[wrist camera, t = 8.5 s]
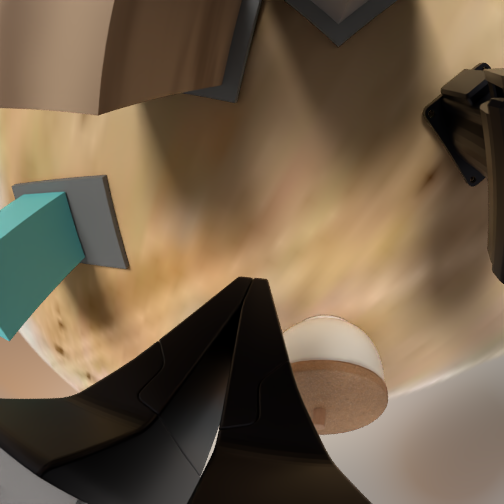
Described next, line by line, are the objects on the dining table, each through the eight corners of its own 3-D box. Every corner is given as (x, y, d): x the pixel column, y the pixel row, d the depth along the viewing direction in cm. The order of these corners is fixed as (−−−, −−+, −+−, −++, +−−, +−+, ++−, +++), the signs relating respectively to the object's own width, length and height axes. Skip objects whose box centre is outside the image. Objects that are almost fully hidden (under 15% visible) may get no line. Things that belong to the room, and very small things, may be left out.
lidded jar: (398, 346, 27) (408, 431, 19) (310, 381, 32) (301, 457, 24) (343, 274, 24) (345, 372, 16) (245, 325, 29) (219, 410, 21)
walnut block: (246, -16, 13) (148, -102, 3) (221, 85, 17) (98, 115, 7) (144, -18, 13) (2, -48, 3) (126, 73, 17) (-21, 108, 7)
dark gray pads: (431, -24, 10) (434, -26, 10) (98, 309, 33) (95, 312, 32) (221, -146, 6) (219, -149, 5) (-2, 209, 28) (-5, 211, 28)
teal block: (64, 191, 24) (-33, 267, 14) (85, 256, 27) (9, 341, 18) (23, 194, 25) (-60, 258, 15) (42, 251, 29) (-27, 321, 19)
